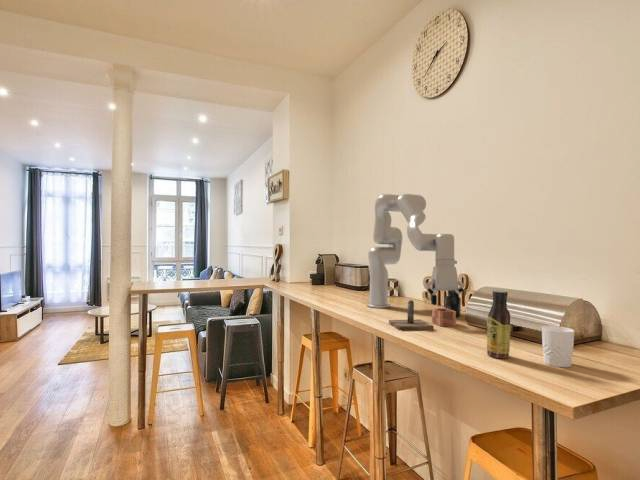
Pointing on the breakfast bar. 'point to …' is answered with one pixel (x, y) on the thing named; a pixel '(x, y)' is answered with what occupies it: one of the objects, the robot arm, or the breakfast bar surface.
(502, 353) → the sauce bottle
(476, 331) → the breakfast bar surface
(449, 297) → the supplement bottle
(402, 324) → the post board
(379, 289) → the robot arm
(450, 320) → the reddish brown box
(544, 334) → the white cup
